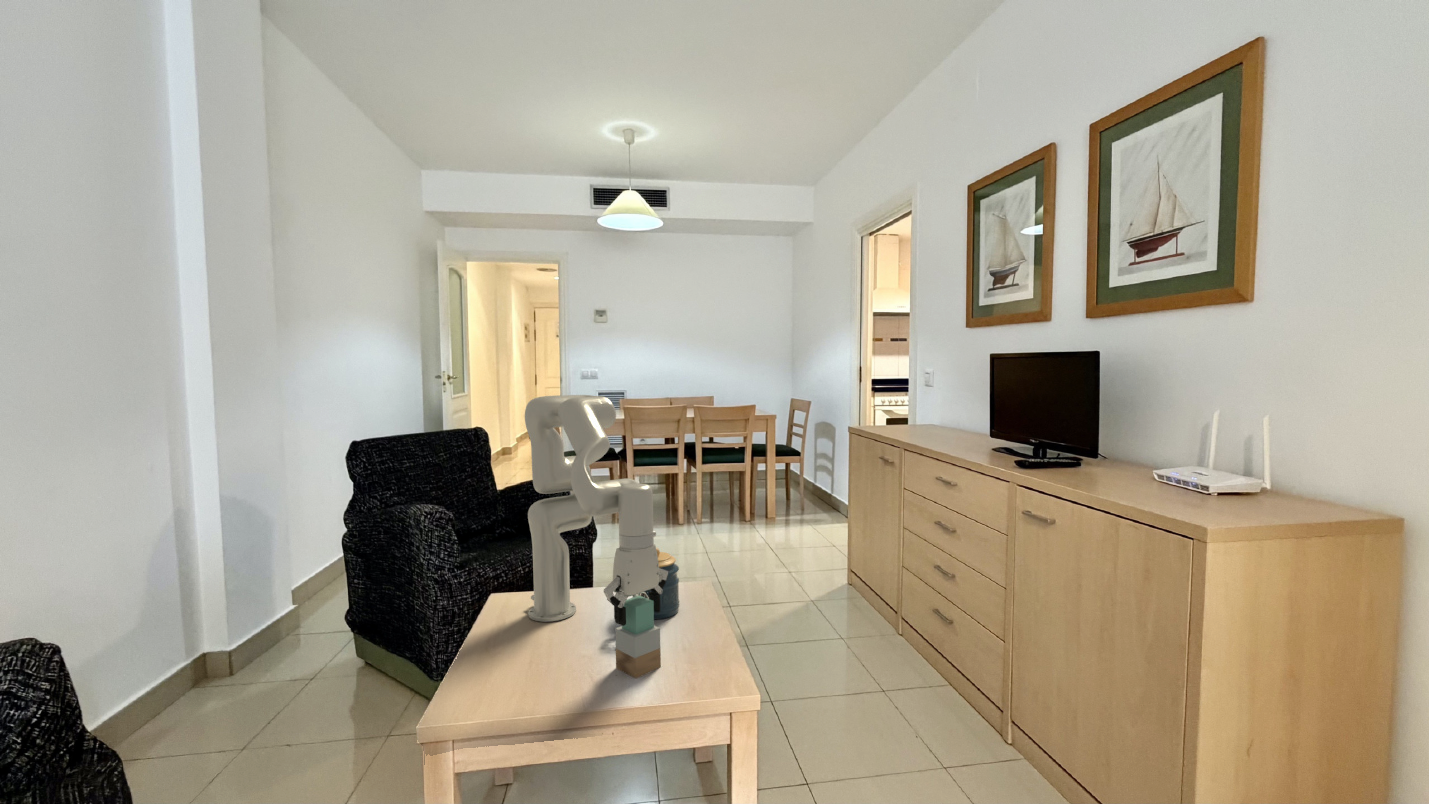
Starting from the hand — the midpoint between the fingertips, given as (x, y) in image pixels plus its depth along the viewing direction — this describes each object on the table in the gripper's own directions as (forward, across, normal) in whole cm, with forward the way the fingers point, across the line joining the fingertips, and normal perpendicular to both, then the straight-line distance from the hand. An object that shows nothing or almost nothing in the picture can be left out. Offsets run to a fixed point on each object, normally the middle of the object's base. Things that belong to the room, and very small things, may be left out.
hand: (637, 617), depth 136 cm
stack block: (+2, 0, 0) cm, 3 cm away
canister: (+12, -24, -22) cm, 35 cm away
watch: (+12, -11, -15) cm, 22 cm away
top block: (+7, 0, 0) cm, 7 cm away
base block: (+12, 0, 0) cm, 12 cm away
